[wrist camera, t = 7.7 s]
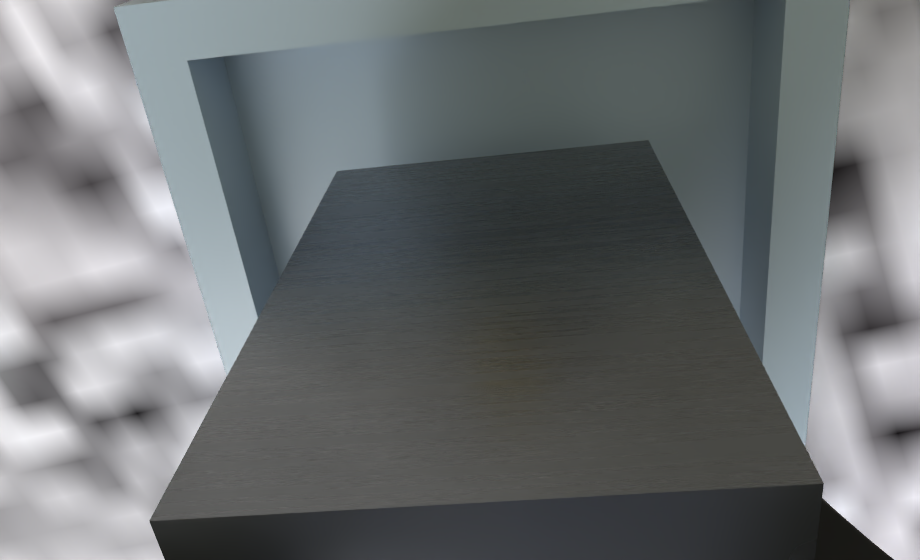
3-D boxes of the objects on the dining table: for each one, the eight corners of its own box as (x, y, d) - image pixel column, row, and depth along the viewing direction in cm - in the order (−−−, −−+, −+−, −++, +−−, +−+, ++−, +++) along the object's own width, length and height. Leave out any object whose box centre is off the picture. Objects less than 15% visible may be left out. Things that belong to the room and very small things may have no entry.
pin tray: (810, -177, 11) (929, -191, 8) (755, 593, 18) (807, 745, 15) (148, -88, 12) (24, -69, 9) (339, 611, 19) (307, 757, 16)
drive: (648, 140, 11) (834, 506, 5) (652, 550, 15) (763, 1063, 9) (337, 170, 12) (137, 542, 5) (415, 562, 15) (352, 1060, 9)
